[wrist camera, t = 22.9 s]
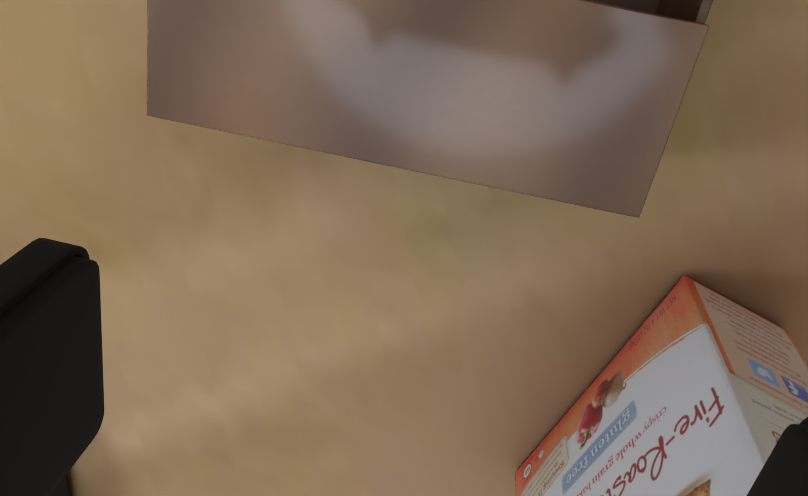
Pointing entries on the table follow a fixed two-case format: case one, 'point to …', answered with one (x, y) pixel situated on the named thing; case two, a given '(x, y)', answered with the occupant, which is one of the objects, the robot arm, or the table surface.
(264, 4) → the flap
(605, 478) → the cracker box
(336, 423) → the table surface
